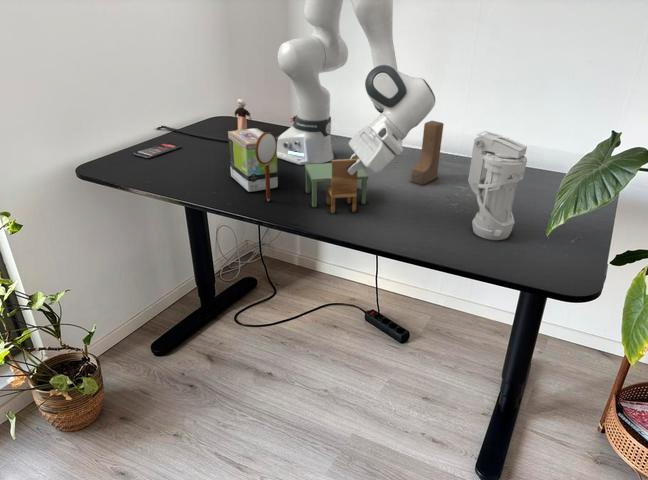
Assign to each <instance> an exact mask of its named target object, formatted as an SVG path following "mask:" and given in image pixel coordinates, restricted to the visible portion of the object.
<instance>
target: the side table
mask: <svg viewBox="0 0 648 480" xmlns="http://www.w3.org/2000/svg"><path fill="white" fill-rule="evenodd" d="M304 168H305V193H306V194H311V207H312V208H317V207H318V183H328V182H331V172H332V162H325V163H316V164H305V165H304ZM368 180H369V176H368V174H367V173H366V171H365V170H364V168H362V169H360V170H358V174H357V181H361V188H360V189H361V192H360V203H361V205H366V203H367V188H368V187H367V186H368Z"/></svg>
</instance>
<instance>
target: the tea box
mask: <svg viewBox="0 0 648 480" xmlns="http://www.w3.org/2000/svg"><path fill="white" fill-rule="evenodd" d="M263 133H265V131H263V130H261V129H259V128H258V127H254V128H247V129H245V130H237V129H236V130H229V131H227V139H228V141H229V142H228V154H229V163H230V164H229V166H230V167H229V168H230V177H231V178H233V179H234V180H235V181H236V182H237V183H238V184H239V185H240V186H241V187H243V188H244V189H245V190H246V191H247V192H248V193H252V192H259V191H266V180H265V164H262V163H260V162H259V161H258V160H257V158H256V154H255V147H256V143H257V140H258V138H259V137H260V136H261V135H262V134H263ZM276 142H277V141H276ZM268 164H269V174H270V190H271V189H276V188H278V186H279V185H278V184H279V183H278V182H279V181H278V179H279V177H278V158H277V149H276V153H275V156H274V158H273V159H272V161H271V162H269V163H268Z"/></svg>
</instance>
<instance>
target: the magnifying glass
mask: <svg viewBox="0 0 648 480" xmlns="http://www.w3.org/2000/svg"><path fill="white" fill-rule="evenodd" d="M275 137H276V136H275V135H274V134H273V133H272V132H270V131H266V132H265V131H264V133H263V134H262V135H261V136H260V137H259V138H258V140H257V143H256V147H255V154H256V158H257V160H258V161H259V162H260V163H262V164H265V180H266V189H265V199H266V200H267V202H270V201H271V189H270V174H269V164H268V163H269V162H271V161H272V159H273V158H274V156H275V153H276V149H277V142H276V138H275Z"/></svg>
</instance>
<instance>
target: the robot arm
mask: <svg viewBox="0 0 648 480" xmlns="http://www.w3.org/2000/svg"><path fill="white" fill-rule="evenodd" d="M350 3H351V5H352V9H353V12H354V13H355V14H354V15H355V17H356V19H357V21H358V23H359V25H360V27H361V29H362V31H363V33H364V34H365V36H366V39H367V41H368V45H369V49H370V51H371V52H370V53H371V58H372V64H373V69H371V70H370V71H369V72H368V74H367V76H366V77H365V82H364V86H365V87H364V88H365V92H366V94H367V96H368V98H369V99H370V101H371V103H372V104H373V106H374V109H375V110H376V111H377V112H378V113H380V114H379V115H378V116H377V117H376V118H375V119H374V120H373V121H372V122H371V123H370V124H369V125H366V126H364V127H363V128H361V130H359V131H358V132H357V133H356V134H355V135H354V136H353V137H352V138H351V139H349V141H348V146H349V147H350V148H351V150H352V151H353V154H351V156H350V158H349V159H358V160H357V161H356V163H355V164H353V165H352V166H351V165H350V166H349V167H348V168H347V171H348V173H350V174H351V175H353V174H354V173H355V172H356V171H358V170H360V169H364V167H365V168H366V169H367V170H368V171H369V172H370V173H371V174H372V175H377V174H378V173H380V172H381V171H383V170H384V168H386V166H388V165H389V164H390V163H391V162H392V161H393V160H394V159H395V156H400V155H401V153H403V151H404V148H403V141H404V139H406V137H407V136H408V135H409V133H410V131H411V130H413V129H414V128H416V127H418V125H420V123H422V121H423V120H424V119H426V117H427V116H428V115H429V114H430V113H431V112H432V110H433V109H434V107H435V106H436V96H435V93H434V92H433V89H432V88H431V86H430V84H429V83H428V82H427V81H426V80H425V78H422V77H415V76H411V75H408V74H405V73H403V72H401V71H399V70H398V66H397V65H398V64H397V57H396V52H395V46H394V39H393V38H394V36H393V35H394V34H393V33H394V32H393V20H394V19H393V16H394V15H393V14H394V13H393V12H394V10H393V9H394V8H393V7H394V0H350ZM343 4H344V0H304V6H303V15H304V18H305V20H306V21H307V23H309V24H310V25H311V27H312V31H311V35H310V36H308V37H307V36H306V37H298V38H296V37H295V38H293V39H289V40H288V41H285V42H283V43H282V44H281V45H280V46H279V48H278V51H277V63H278V66H279V68H280V70H281V71H282V72H283V73H284V74H285V75H286V76H287V77H288V78H289V79H290V81H291V82H292V84H293V87H294V90H295V96H296V115H294V116H293V117H292V118H290V121H289V122H290V123H292V122H293V123H292V125H291V126H290V127H289V128H288V129H286V130H285V131H284V132H282V133H281V134H278V135H277V136H275V138H276V141H277V159H281V160H284V161H287V162H289V163H294V164H296V165H299V166H305V164H323V163H329V162H332V160H334V159H335V155H334V151H333V147H332V140H331V135H332V134H331V133H332V116H331V94H330V92H329V90H328V89H327V88H326V87H325V86H323V85H322V84H321V81H320V74H323V73H328V72H329V73H330V72H334V71H336V70H338V69H340V68H343V67H344V66H345V65H346V63H347V61H348V57H349V49H348V46H347V43H346V41H345V40H344V39H343V37H342V35H341V30H340V23H341V22H340V21H341V15H342V9H343ZM160 126H161V127H159V126H158V127H157V128H156V130H157V131H159V130H161V129H165V130H168V131H173V132H178V133H181V134H184V135H189V136H192V137H198V138H202V139H208V140H213V141H219V142H226V143H229V141H228V138H220V137H215V136H209V135H204V134H199V133H194V132H190V131H186V130H182V129H178V128H174V127H170V126H166V125H160Z"/></svg>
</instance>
